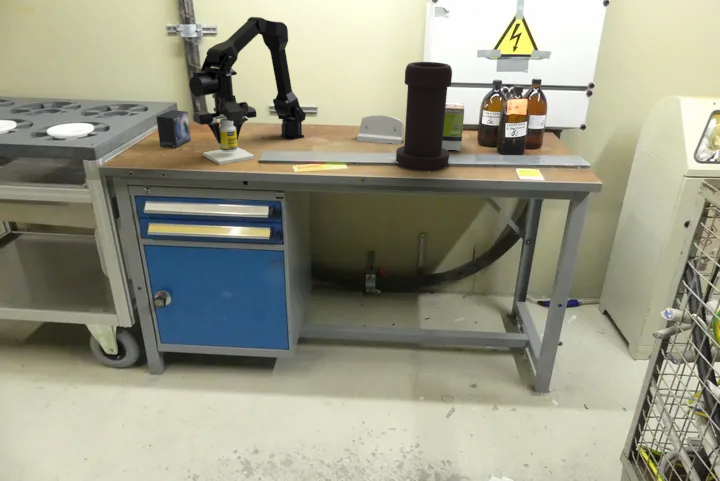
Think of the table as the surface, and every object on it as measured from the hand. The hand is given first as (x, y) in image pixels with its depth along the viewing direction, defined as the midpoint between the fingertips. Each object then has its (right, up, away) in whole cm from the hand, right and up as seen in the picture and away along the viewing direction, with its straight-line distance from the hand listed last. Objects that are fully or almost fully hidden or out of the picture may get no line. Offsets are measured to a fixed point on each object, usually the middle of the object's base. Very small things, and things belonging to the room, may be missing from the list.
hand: (227, 141), depth 169 cm
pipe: (+62, -7, +1) cm, 62 cm away
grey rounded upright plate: (+49, +5, +25) cm, 55 cm away
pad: (0, -4, +2) cm, 5 cm away
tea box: (+69, +1, +18) cm, 72 cm away
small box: (-21, +2, +14) cm, 26 cm away
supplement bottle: (0, -3, +1) cm, 3 cm away
